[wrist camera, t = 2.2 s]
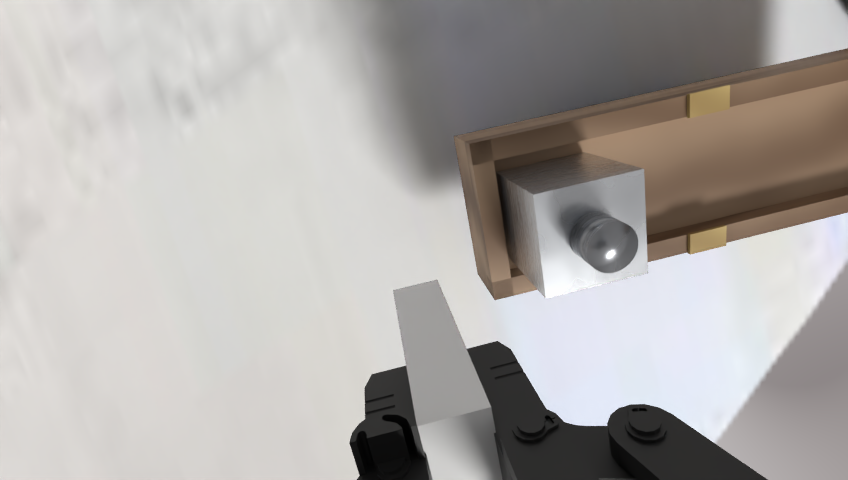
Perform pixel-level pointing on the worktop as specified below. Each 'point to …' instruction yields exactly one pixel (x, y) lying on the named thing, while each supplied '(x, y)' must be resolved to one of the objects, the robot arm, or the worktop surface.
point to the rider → (575, 222)
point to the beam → (685, 159)
